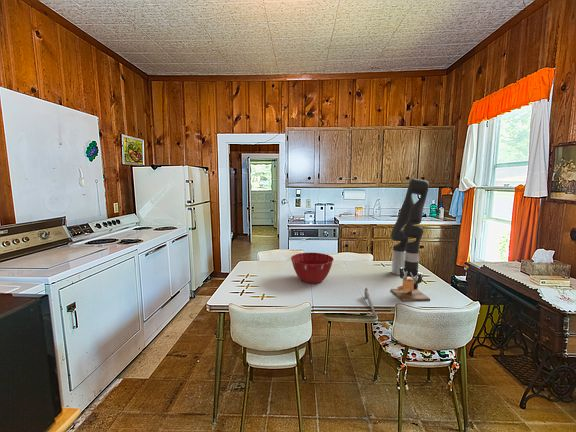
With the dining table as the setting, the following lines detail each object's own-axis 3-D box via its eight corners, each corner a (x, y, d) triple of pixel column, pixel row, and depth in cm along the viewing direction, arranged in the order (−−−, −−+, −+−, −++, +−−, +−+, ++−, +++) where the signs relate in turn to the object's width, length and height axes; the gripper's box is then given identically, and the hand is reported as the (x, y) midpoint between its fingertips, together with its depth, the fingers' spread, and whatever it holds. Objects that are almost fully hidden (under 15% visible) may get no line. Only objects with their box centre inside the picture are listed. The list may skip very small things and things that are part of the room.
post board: (390, 290, 182) (391, 282, 181) (415, 290, 183) (416, 281, 182) (402, 301, 166) (403, 292, 165) (430, 300, 167) (430, 291, 166)
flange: (408, 286, 178) (408, 278, 177) (417, 289, 173) (418, 280, 172) (396, 290, 171) (396, 282, 171) (405, 293, 166) (405, 285, 166)
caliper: (364, 297, 172) (364, 286, 171) (366, 297, 172) (366, 286, 171) (372, 312, 152) (373, 301, 151) (375, 313, 152) (375, 301, 151)
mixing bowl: (331, 289, 184) (332, 265, 182) (286, 285, 190) (287, 262, 188) (334, 274, 211) (334, 253, 210) (294, 272, 217) (294, 251, 215)
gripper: (427, 261, 168) (425, 290, 170) (404, 256, 180) (402, 282, 182) (419, 263, 164) (417, 293, 166) (396, 258, 175) (395, 285, 178)
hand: (410, 287), depth 174 cm, fingers closed on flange, 6 cm apart
